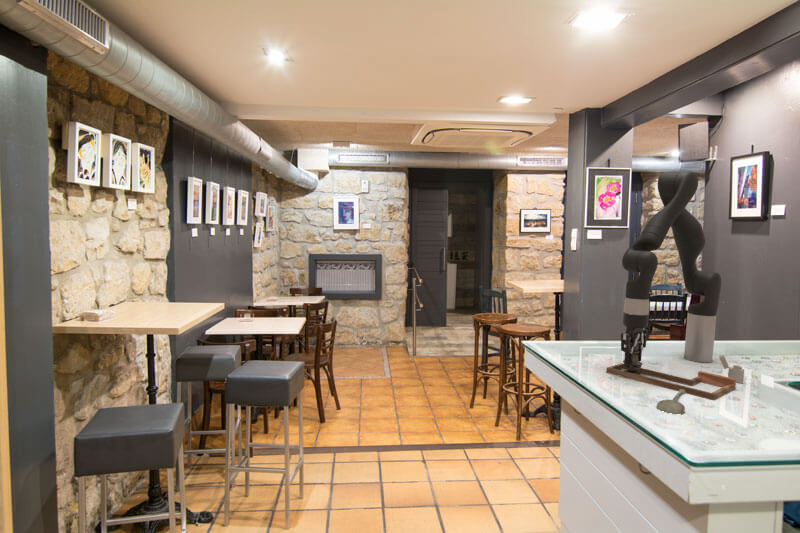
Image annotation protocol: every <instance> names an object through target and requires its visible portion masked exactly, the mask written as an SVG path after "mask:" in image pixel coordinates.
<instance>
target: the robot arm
mask: <svg viewBox="0 0 800 533" xmlns="http://www.w3.org/2000/svg"><path fill="white" fill-rule="evenodd" d="M698 187H699V178H698V175H697V174H696V172H695V171H691V170H680V171H679V170H674V171H665V172H662V173H661V174H659V176H658V179H657V191H658V195H659V197H660V199H661V203H662V205H663V208H662V209H660V210H659V211H658V212H656V213H655V214H653V216H652V217H650V219H649V220H648V221H647V222H646V224H645V225H644V226H643V229H642V231H641V232H640V235H639V237H638V238H637V239H636V240H635V241H634V242H633V243H632V244H631V245H630V247H628V248H627V249H626V250H625V252H624V253H623V256H622V259H621V260H622V261H621V264H622V267H623V269H624V270H625V271H627V272H630V273H639V275H638V277H637V278H634V279H630V280H627V282H626V284H625V285H626V286H625V295H624V296H625V298H624V303H623V314H622V324H623V326H625V327H626V331H625V333H623V332H622V333H621V334H620V351H621V352H624V360H623V361H624V363H625V364H628V365H631V364H632V355H633V354H632V353H633V349H634V347H636V344H637V342H639V348H638V351H639V353H638V360H639V362H642V356H643V355H642V353H643V351H644V348H646V347H647V340H648V334H649V330H648V329H646V328H648V327H649V318H650V292H651V285H652V282H653V280H654V277H655V274H656V272H657V269H658V265H659V261H658V260H659V259H658V256H657V255H656V253H654V251H657V250H659V249H660V248H661V246H662V244H663V242H664V241H665V239H666V236H667V235H668V233H669V231H670V229H671V231H672V232H671V233H672V236H673V239H674V244H675V246H676V247H675V248H677V249H676V250H677V253H678V256H679V260H680V264H681V270H682V276H683V277H682V278H683V282H684V283H683V284H684V286H685V290H686V291H687V293H688V294H690V295H694V296H701V297H702V296H703V297H704V298H703V301H701V302H698V303H693V304H689V305H688V307H687V317H686V328H685V338H684V339H685V341H684V353H683V358H684V359H685V360H689V361H693V362H698V363H712V362H713V358H714V346H715V336H716V322H717V315H718V314H717V312H718V309H719V302H720V301H719V300H720V294H721V289H722V278H721V275H720V274H719V273H718V272H717V271H709V270H708V271H707V270H699V269H698V268H697V265H696V264H697V262H696V261H697V259H698V258H699V255H700V254H701V253H702V251H703V249H704V247H705V244H706V238H705V234H704V229H703V227H702V224H701V222H700V221H699V220H698V219H697V218H696V217H695V216H694V215H693V214H692V213H691V212H690V211H688V209H687V208H686V207H687V205H689V203H690V201H691V200H692V198H693V197H694V195H696V192H697V190H698ZM630 346H631V348H630ZM624 363H623V364H624Z"/></svg>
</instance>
